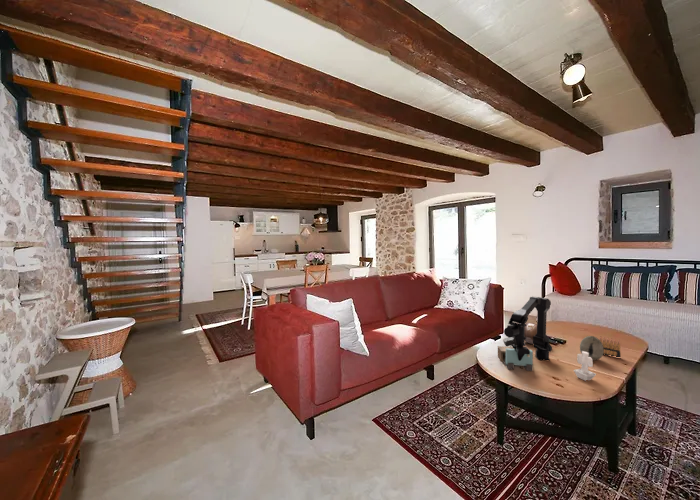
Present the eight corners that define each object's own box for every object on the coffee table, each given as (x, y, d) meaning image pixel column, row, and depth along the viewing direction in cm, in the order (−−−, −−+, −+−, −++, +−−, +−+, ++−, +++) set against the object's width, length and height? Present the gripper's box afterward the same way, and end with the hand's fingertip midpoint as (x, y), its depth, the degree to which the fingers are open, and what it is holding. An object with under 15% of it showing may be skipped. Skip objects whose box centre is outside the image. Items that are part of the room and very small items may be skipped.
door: (507, 365, 175) (507, 350, 175) (505, 362, 178) (505, 348, 178) (533, 367, 172) (533, 352, 171) (531, 364, 175) (531, 349, 175)
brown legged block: (524, 358, 188) (524, 347, 188) (535, 371, 171) (535, 359, 171) (497, 356, 192) (497, 346, 192) (505, 368, 175) (505, 357, 174)
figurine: (597, 380, 159) (598, 353, 159) (584, 382, 157) (585, 355, 156) (584, 374, 166) (584, 348, 166) (571, 376, 164) (572, 350, 163)
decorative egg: (581, 354, 193) (581, 331, 192) (604, 359, 185) (605, 336, 184) (578, 359, 185) (578, 336, 184) (602, 365, 177) (603, 341, 176)
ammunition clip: (620, 358, 186) (621, 339, 185) (620, 358, 185) (620, 340, 184) (598, 353, 194) (599, 335, 193) (598, 353, 193) (598, 336, 192)
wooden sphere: (519, 344, 211) (519, 324, 210) (520, 338, 224) (521, 319, 223) (544, 348, 203) (544, 327, 202) (544, 341, 215) (544, 321, 215)
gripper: (500, 328, 186) (500, 352, 186) (508, 338, 167) (508, 365, 168) (519, 329, 183) (519, 353, 184) (530, 340, 165) (530, 366, 166)
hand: (518, 359), depth 175 cm, fingers closed on door, 2 cm apart
